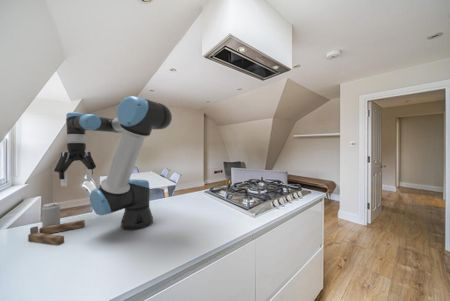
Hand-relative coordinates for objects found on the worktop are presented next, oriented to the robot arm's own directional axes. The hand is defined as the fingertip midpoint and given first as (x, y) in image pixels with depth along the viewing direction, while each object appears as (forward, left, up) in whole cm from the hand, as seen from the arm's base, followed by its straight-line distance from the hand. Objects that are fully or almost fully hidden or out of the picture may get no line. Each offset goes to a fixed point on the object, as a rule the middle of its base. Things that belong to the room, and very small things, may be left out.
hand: (77, 183), depth 94 cm
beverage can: (+7, +7, -21) cm, 24 cm away
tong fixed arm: (-4, +17, -21) cm, 27 cm away
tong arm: (-1, +8, -21) cm, 22 cm away
